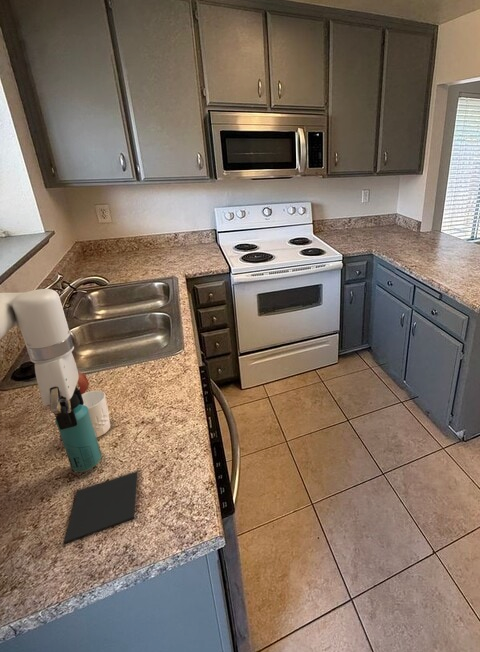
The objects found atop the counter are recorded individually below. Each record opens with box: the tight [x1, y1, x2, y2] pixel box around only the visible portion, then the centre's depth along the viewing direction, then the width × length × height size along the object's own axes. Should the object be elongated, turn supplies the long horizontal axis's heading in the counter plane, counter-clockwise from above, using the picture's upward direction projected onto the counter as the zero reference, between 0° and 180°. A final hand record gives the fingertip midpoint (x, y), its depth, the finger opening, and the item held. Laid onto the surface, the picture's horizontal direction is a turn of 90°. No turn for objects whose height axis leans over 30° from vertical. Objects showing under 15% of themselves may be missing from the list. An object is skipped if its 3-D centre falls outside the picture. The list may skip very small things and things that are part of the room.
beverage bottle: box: [54, 394, 102, 473], centre depth 82 cm, size 6×7×20 cm
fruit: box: [61, 371, 90, 397], centre depth 109 cm, size 8×8×10 cm
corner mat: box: [64, 471, 138, 544], centre depth 76 cm, size 12×12×1 cm
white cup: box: [82, 389, 111, 438], centre depth 95 cm, size 8×8×10 cm
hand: (72, 415), depth 81 cm, fingers closed on beverage bottle, 6 cm apart
